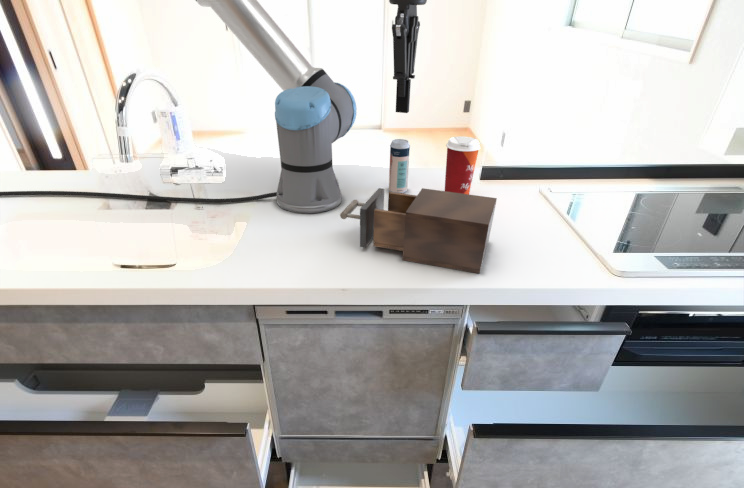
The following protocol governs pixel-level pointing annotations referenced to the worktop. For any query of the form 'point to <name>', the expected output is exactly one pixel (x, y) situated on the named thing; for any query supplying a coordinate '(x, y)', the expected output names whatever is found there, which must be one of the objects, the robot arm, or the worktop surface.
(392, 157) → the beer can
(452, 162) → the paper cup
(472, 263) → the cabinet
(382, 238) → the drawer
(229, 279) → the worktop surface
